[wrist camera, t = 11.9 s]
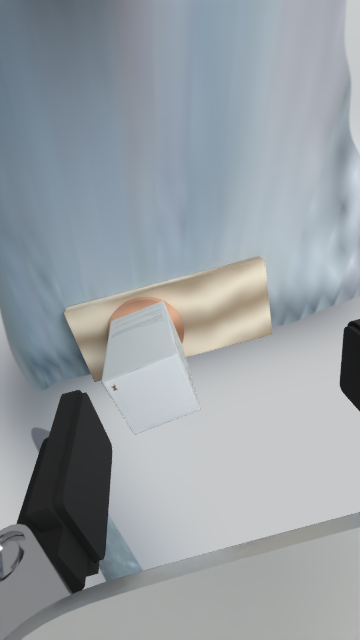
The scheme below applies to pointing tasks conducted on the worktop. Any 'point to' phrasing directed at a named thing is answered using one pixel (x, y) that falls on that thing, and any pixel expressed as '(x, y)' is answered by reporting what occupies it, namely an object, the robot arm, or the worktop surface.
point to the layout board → (183, 311)
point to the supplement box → (148, 369)
